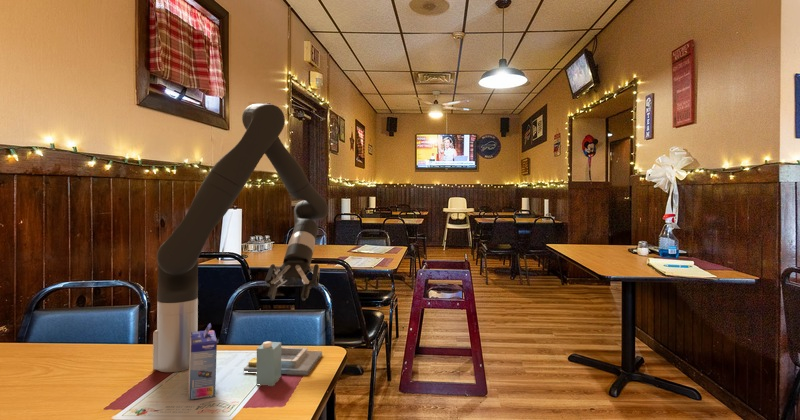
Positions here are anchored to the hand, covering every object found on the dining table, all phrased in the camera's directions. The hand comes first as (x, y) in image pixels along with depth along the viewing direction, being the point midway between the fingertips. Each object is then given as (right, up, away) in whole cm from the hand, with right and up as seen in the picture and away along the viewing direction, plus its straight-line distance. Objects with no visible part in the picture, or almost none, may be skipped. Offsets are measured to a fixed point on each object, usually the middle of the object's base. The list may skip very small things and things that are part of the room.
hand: (287, 298), depth 110 cm
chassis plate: (0, -17, 0) cm, 17 cm away
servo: (-1, -17, -11) cm, 21 cm away
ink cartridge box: (-15, -17, -16) cm, 28 cm away
